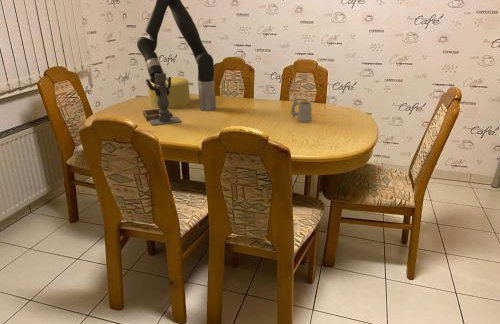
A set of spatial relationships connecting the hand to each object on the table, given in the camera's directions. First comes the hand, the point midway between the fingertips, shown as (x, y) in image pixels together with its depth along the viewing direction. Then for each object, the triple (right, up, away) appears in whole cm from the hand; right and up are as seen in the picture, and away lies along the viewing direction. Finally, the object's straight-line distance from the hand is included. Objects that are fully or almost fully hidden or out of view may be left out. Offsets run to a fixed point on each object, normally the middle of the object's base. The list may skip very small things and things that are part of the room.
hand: (163, 95), depth 198 cm
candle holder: (-1, -13, +7) cm, 15 cm away
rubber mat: (-1, -13, +7) cm, 15 cm away
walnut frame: (-8, -9, +18) cm, 21 cm away
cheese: (-7, +3, +47) cm, 47 cm away
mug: (+73, -13, +6) cm, 75 cm away
